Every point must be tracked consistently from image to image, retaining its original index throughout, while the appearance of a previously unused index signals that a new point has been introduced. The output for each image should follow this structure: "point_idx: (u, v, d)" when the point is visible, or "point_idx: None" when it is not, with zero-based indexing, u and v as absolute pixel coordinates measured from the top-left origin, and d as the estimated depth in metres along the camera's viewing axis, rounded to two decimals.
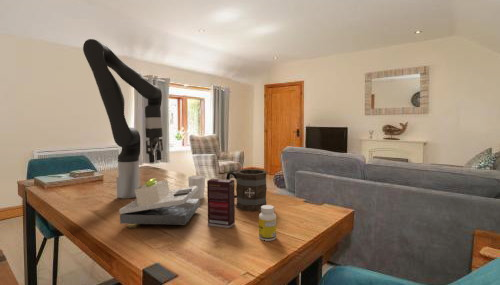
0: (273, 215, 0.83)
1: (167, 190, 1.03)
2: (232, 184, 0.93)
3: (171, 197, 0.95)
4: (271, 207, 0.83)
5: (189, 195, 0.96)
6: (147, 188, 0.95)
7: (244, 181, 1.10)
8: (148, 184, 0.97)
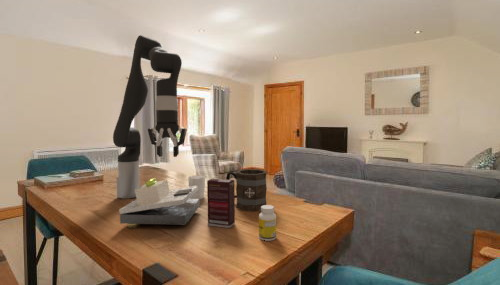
0: (273, 215, 0.83)
1: (167, 190, 1.03)
2: (232, 184, 0.93)
3: (171, 197, 0.95)
4: (271, 207, 0.83)
5: (189, 195, 0.96)
6: (147, 188, 0.95)
7: (244, 181, 1.10)
8: (148, 184, 0.97)
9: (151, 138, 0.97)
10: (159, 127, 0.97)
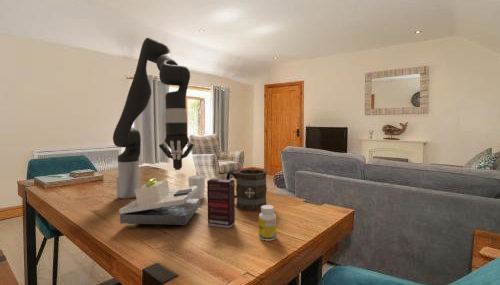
0: (273, 215, 0.83)
1: (167, 190, 1.03)
2: (232, 184, 0.93)
3: (171, 197, 0.95)
4: (271, 207, 0.83)
5: (189, 195, 0.96)
6: (147, 188, 0.95)
7: (244, 181, 1.10)
8: (148, 184, 0.97)
9: (166, 152, 0.97)
10: (168, 139, 0.97)
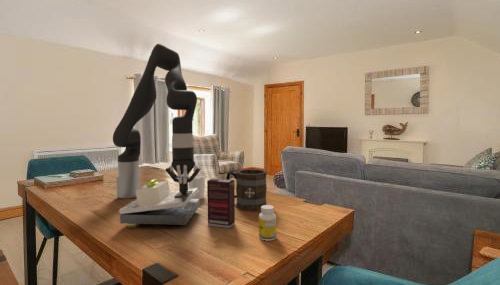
0: (273, 215, 0.83)
1: (167, 191, 1.03)
2: (232, 184, 0.93)
3: (171, 199, 0.95)
4: (271, 207, 0.83)
5: (190, 197, 0.97)
6: (148, 189, 0.95)
7: (244, 181, 1.10)
8: (149, 185, 0.97)
9: (172, 176, 0.98)
10: (175, 163, 0.98)
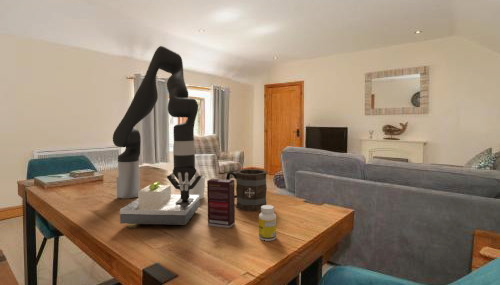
0: (273, 215, 0.83)
1: (169, 195, 1.03)
2: (232, 184, 0.93)
3: (173, 205, 0.95)
4: (271, 207, 0.83)
5: (190, 206, 0.97)
6: (150, 192, 0.95)
7: (244, 181, 1.10)
8: (152, 188, 0.97)
9: (173, 184, 0.98)
10: (176, 170, 0.98)
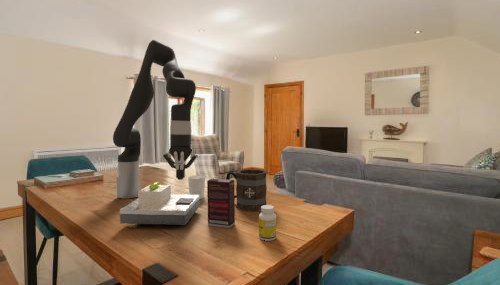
0: (273, 215, 0.83)
1: (169, 195, 1.03)
2: (232, 184, 0.93)
3: (173, 205, 0.95)
4: (271, 207, 0.83)
5: (190, 206, 0.97)
6: (150, 192, 0.95)
7: (244, 181, 1.10)
8: (152, 188, 0.97)
9: (169, 162, 1.00)
10: (172, 149, 1.00)
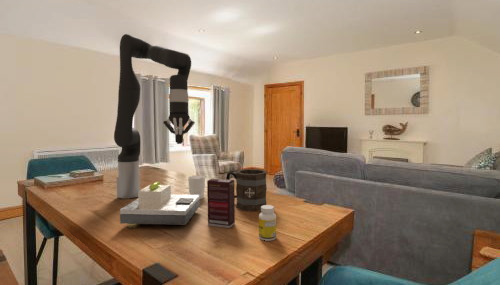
0: (273, 215, 0.83)
1: (169, 195, 1.03)
2: (232, 184, 0.93)
3: (173, 205, 0.95)
4: (271, 207, 0.83)
5: (190, 206, 0.97)
6: (150, 192, 0.95)
7: (244, 181, 1.10)
8: (152, 188, 0.97)
9: (169, 128, 1.11)
10: (172, 116, 1.11)
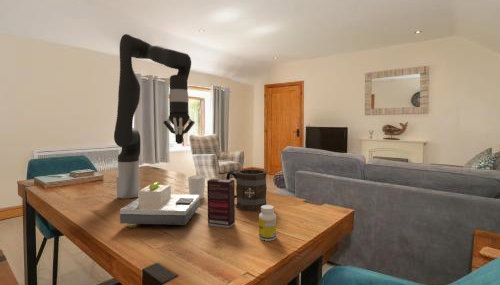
0: (273, 215, 0.83)
1: (169, 195, 1.03)
2: (232, 184, 0.93)
3: (173, 205, 0.95)
4: (271, 207, 0.83)
5: (190, 206, 0.97)
6: (150, 192, 0.95)
7: (244, 181, 1.10)
8: (152, 188, 0.97)
9: (169, 128, 1.11)
10: (172, 116, 1.11)
